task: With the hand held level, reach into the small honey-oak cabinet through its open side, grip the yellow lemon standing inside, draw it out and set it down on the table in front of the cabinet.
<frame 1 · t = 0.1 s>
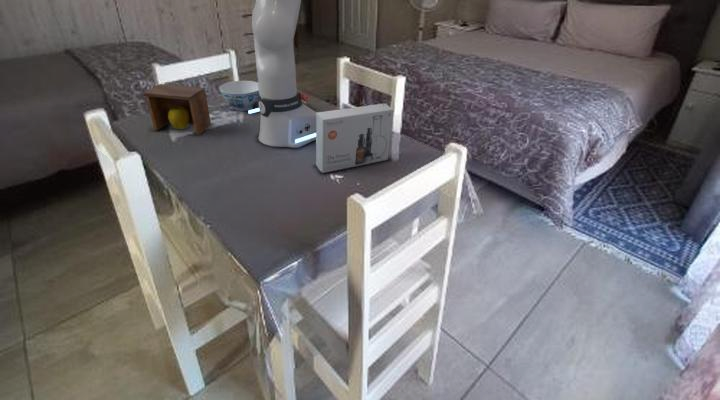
skincare box: (353, 163, 113), on the table
cabinet: (183, 127, 129), on the table
egg carton: (294, 108, 148), on the table
chinaware: (243, 108, 146), on the table
yellow lemon: (182, 129, 128), on the table
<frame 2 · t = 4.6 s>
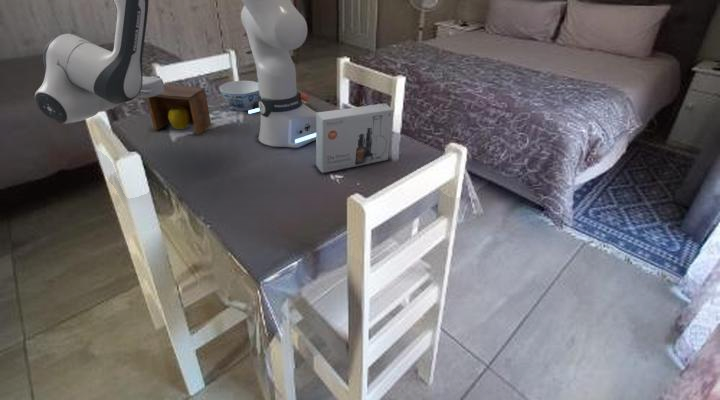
hand: (141, 76, 107), 20 cm above the table, tool horizontal, fingers open, 8 cm apart
nothing on the table moved.
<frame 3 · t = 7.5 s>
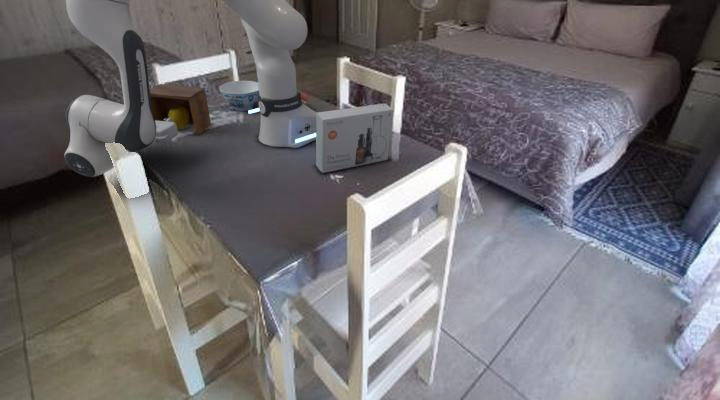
hand: (154, 118, 114), 8 cm above the table, tool horizontal, fingers open, 8 cm apart
nothing on the table moved.
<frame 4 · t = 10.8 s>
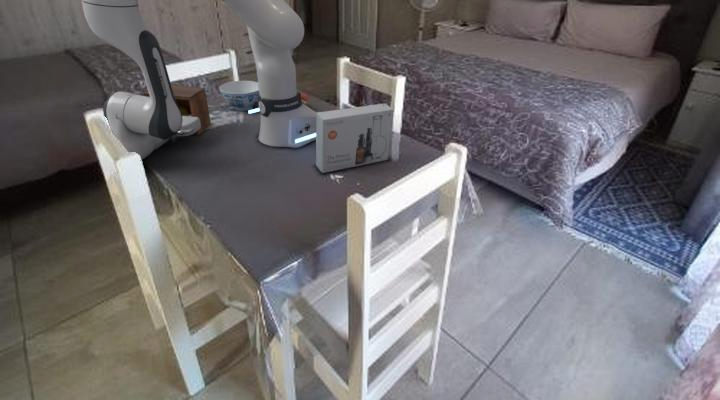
hand: (178, 114, 125), 5 cm above the table, tool horizontal
nothing on the table moved.
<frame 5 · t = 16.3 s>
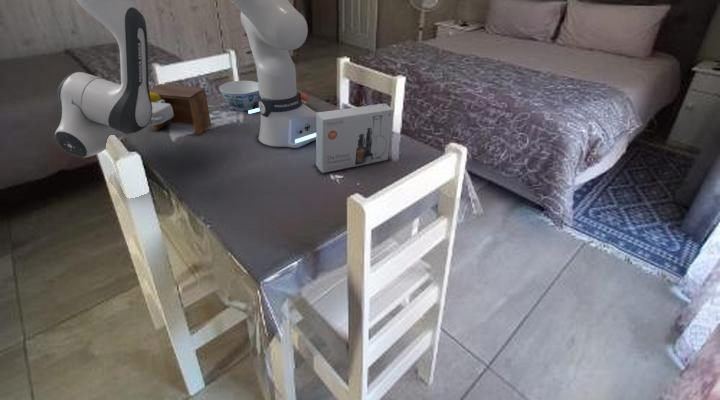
hand: (150, 101, 111), 13 cm above the table, tool horizontal, fingers closed on yellow lemon, 6 cm apart
yellow lemon: (154, 118, 113), point 8 cm above the table, touching gripper
everything else where it was.
when the fingers open (5 cm above the table, at t = 21.6 s): yellow lemon stays where it is, on the table.
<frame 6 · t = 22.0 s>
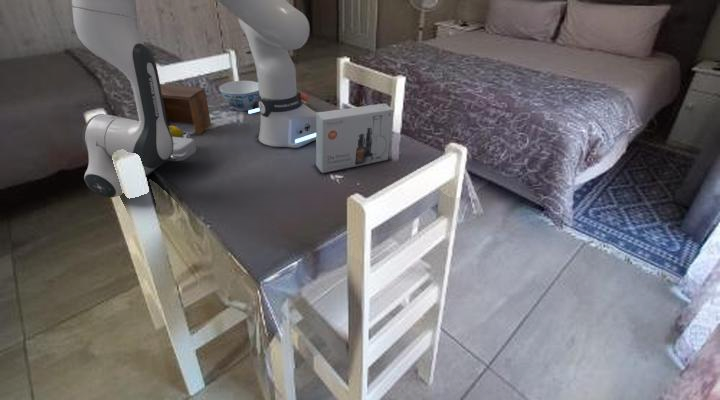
hand: (171, 133, 112), 5 cm above the table, tool horizontal, fingers open, 8 cm apart
yellow lemon: (175, 151, 115), on the table
everything else where it was.
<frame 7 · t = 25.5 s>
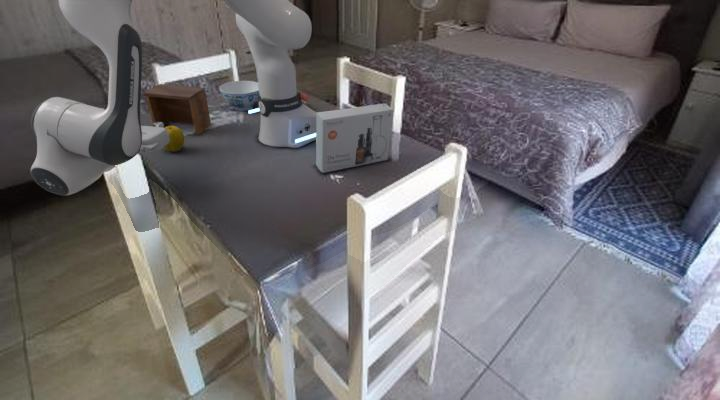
hand: (143, 123, 98), 13 cm above the table, tool horizontal, fingers open, 8 cm apart
nothing on the table moved.
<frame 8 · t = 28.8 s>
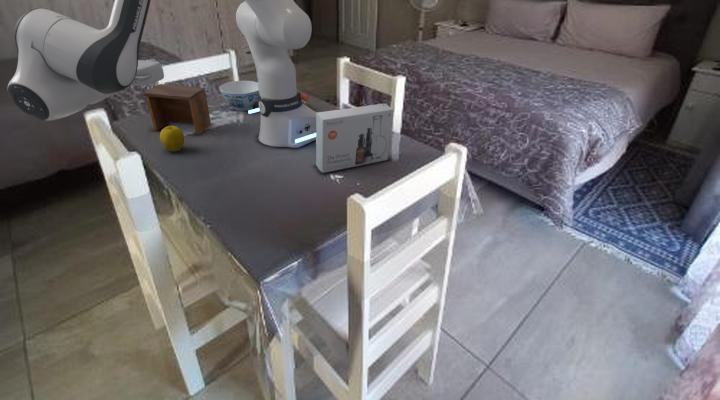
hand: (135, 60, 91), 28 cm above the table, tool horizontal, fingers open, 8 cm apart
nothing on the table moved.
at the end: yellow lemon inside the target area (1.0 cm from its centre), on the table; the gripper is holding nothing; yellow lemon touching table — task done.
